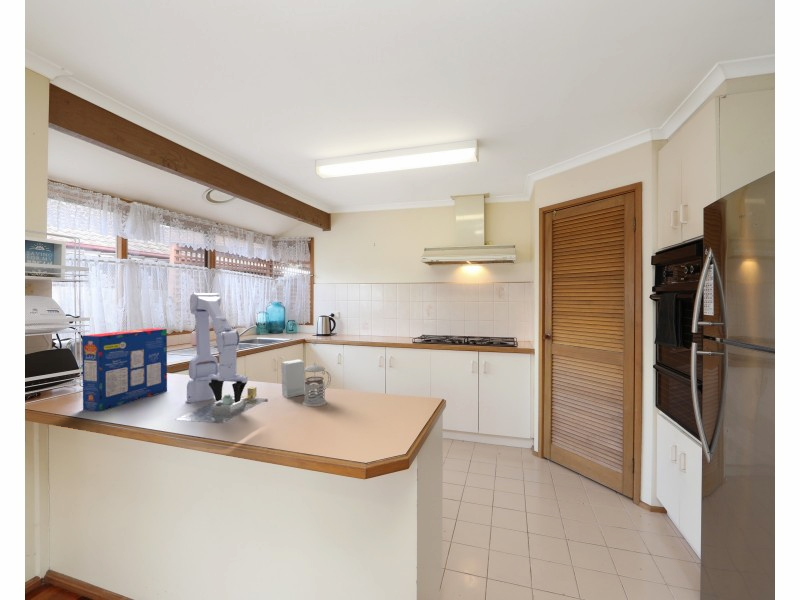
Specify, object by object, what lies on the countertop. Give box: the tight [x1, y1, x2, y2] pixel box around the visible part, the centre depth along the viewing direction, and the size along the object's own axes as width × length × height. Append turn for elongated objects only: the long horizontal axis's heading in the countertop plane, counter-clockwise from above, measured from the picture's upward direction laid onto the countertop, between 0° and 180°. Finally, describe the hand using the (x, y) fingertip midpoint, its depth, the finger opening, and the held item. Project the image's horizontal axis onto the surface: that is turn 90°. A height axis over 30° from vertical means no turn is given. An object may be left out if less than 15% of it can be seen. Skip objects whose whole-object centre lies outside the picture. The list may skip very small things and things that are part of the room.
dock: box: [174, 396, 268, 424], centre depth 128 cm, size 18×27×4 cm, turn 170°
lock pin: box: [243, 386, 257, 402], centre depth 135 cm, size 2×10×4 cm, turn 170°
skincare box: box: [281, 358, 305, 399], centre depth 148 cm, size 8×6×15 cm
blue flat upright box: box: [81, 327, 168, 413], centre depth 141 cm, size 28×8×28 cm, turn 167°
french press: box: [301, 340, 332, 407], centre depth 139 cm, size 10×12×25 cm
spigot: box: [222, 393, 233, 405], centre depth 125 cm, size 3×3×6 cm
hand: (228, 401), depth 125 cm, fingers open, 7 cm apart
